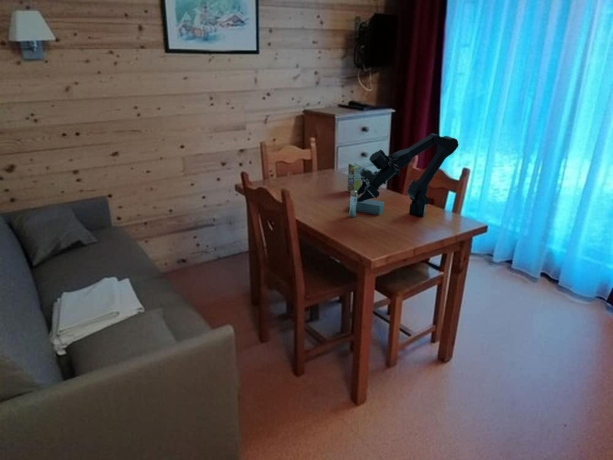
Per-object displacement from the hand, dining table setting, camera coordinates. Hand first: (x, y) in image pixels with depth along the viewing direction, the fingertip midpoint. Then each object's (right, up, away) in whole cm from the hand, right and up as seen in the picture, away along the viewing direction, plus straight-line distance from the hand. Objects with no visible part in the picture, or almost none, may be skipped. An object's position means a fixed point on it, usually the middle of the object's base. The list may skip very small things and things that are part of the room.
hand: (356, 198), depth 206 cm
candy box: (+2, +5, +37) cm, 37 cm away
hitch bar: (+6, -5, +11) cm, 14 cm away
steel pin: (-2, -8, +3) cm, 9 cm away
